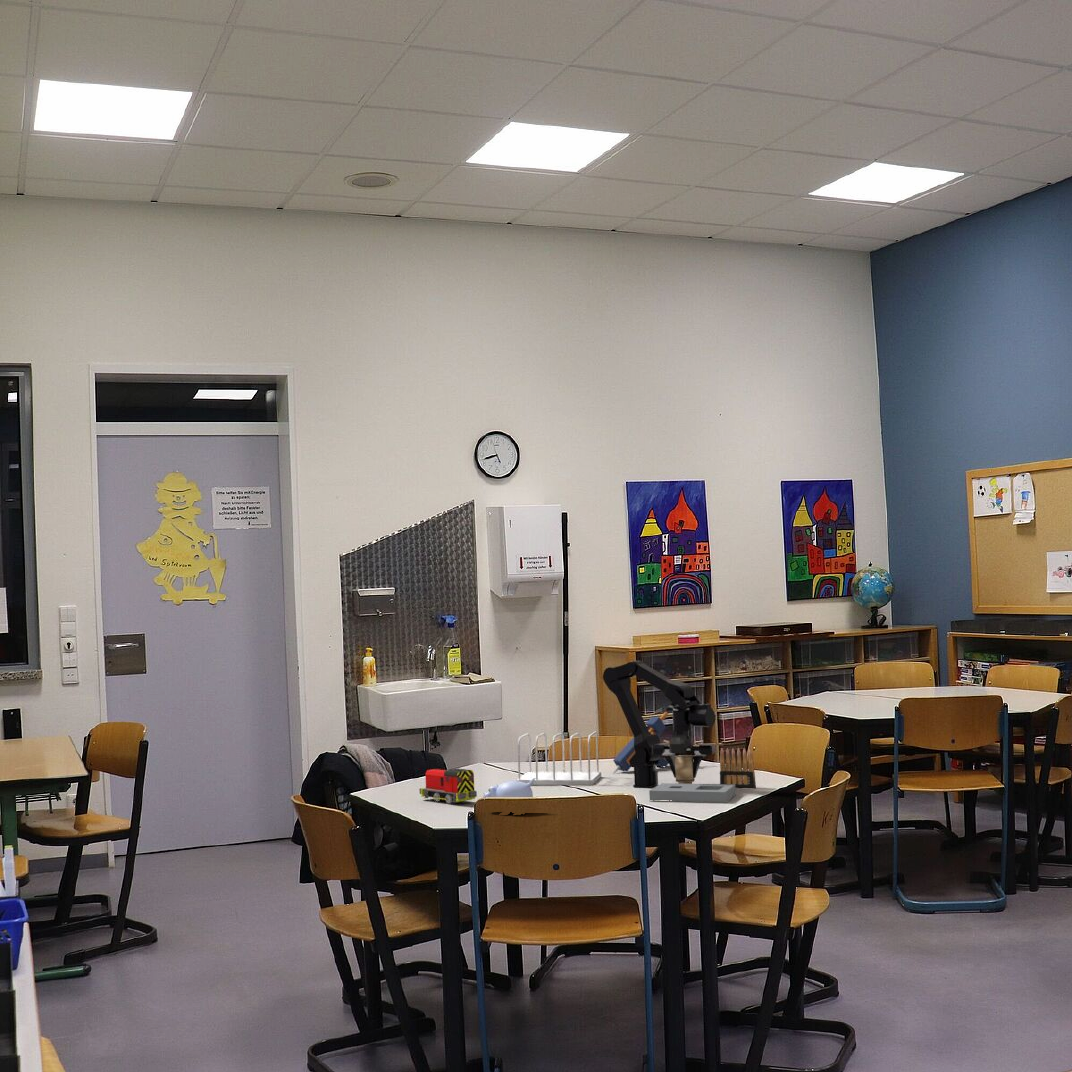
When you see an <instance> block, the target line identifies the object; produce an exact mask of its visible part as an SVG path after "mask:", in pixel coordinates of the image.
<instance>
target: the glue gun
mask: <svg viewBox="0 0 1072 1072" xmlns="http://www.w3.org/2000/svg"><path fill="white" fill-rule="evenodd" d="M668 715H669V713H668V711H664V712H663V714H662V715H661V716H660V717H656V716H651V717H650V719H648V720H647V721H646V722H645V724H646V726H647V729H648V731H649V732H650V733H651V734H652V735H654V734H657V735H658V737H659V738H660V736H661V734H662V733H663V731H664V730H665V729H666V728H667V727H666V725H665V724H664V722H663V721H664V720H665V719H666V718H667V716H668ZM634 754H635V750H634V736H633V737H632V738H631V739H630V740H629V742H628V743H627V744H626V745H624V747H623V748H622V749H621V751H620V752H619V753H618V754H617V755H616V756H615V757H614V759H613V762H614V764H615V766H616V768H615V769H614V771H613V772H612V774H613V775H614V774H616V772H618V771H621V772H628V771H629V770H630V768H632V767H631V766H630V763H629V760H630V759H631V758H632V756H633V755H634ZM668 765H669V763H668V761H667V760H666V759H665V758H664V757H662V756H661V758H660V760H659V764H658V765H656V766H666V767H667V766H668Z"/></svg>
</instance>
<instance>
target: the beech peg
mask: <svg viewBox="0 0 1072 1072" xmlns="http://www.w3.org/2000/svg"><path fill="white" fill-rule="evenodd" d="M693 756H694V755H691V754H689V755H688V754H682V755H681V754H679V755H675V774H676V778H675V783H680V784H693V782H695V778H694V777H693V764H694V760H693Z"/></svg>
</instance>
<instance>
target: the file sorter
mask: <svg viewBox="0 0 1072 1072" xmlns="http://www.w3.org/2000/svg"><path fill="white" fill-rule="evenodd" d="M594 735H595V745H596V746H595V748H596V753H595V754H596V755H595V757H596V771H591V754H590V753H591V747H590V745H591V737H593V736H594ZM527 736H528V755H529V756H528V758H529V759H528V760H529V761H528V763H529V764H528V766H529V771H527V772H526V773H524V774H523V775H521V755H520V754H521V751H520V750H521V745H520V744H521V740H522V739H523V738H525V737H527ZM542 736H544V751H545V752H544V753H545V771H538V769H539V768H538V767H539V766H538V763H539V762H538V740H539V738H540V737H542ZM559 736H561V738H562V739H561V740H562V743H561V744H562V771H556V764H555V763H556V759H555V758H556V757H555V756H556V755H555V754H556V753H555V751H556V750H555V739H556V738H557V737H559ZM576 736H578V744H579V745H578V747H579V753H578V754H579V771H573V751H572V750H573V746H572V745H573V744H572V741H573V738H574V737H576ZM581 739H582V736H581V733H580V732H576V733H573V734H572V735H571V736H570V737H569V762H570V771H565V769H566V765H565V763H566V762H565V734H564V732H558V733H556V734H554V735H553V736H552V771H549V765H548V741H547V734H546V732H542V733H540V734H538V735H536V737H535V745H534V746H535V771H532V745H531V742H532V741H531V740H532V739H531V734H530V733H529V732H527V733H524V734H522V735H520V736H519V737H518V740H517V766H518V767H517V770H518V772H517V773H518V778H517V779H516V780H515V781H519V782H524V783H529V782H530V781H531V780H532V779H533V778H536V779H535V780H534V782H533V784H532V786H593V785H594V784H595V783H596V782H597V781H598V780H599V779H600V778H602V771H599V738H598V731H596V730H595V731H593V732H592V733H591V734H588V737H587V764H588V765H587V769H588V771H582V770H583V769H582V765H583V764H582V740H581Z"/></svg>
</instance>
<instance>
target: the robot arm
mask: <svg viewBox="0 0 1072 1072" xmlns="http://www.w3.org/2000/svg"><path fill="white" fill-rule="evenodd" d="M635 676H636V677H638V678H639V679H640V680H643V681H644V682H646V683H648V684H649V685H651V686H652V687H654V688H656V689H658V690H659V691H661V693H662V694H663V695H664V698H666V699H667V700H669V702H670V703H669V706H668V707H666V709H665V710H666V712H671V713H672V735H671V736H672V737H671V738H670V739H669V742H668V743H667V742H665V743H664V742H661V741H660V736H659V737H658V735H657V734H654V735H652V734H651V733H650V732H649V728H648V726H647V724H646V722H645V720H644V718H643V715H642V714H641V711H640V709H639V706H638V704H637V702H636V700H635V697H634V694H633V693H632V691H631V687H632V685H631V684H632V680H631V679H632V678H634V677H635ZM602 680H603V682H604V684H605V686H606V687H607V689H608V690H609V691H610V692H611V693H613V694H614V695H615V697H616V699H617V700H618V703H619V707H620V708H621V710H622V712H623V715H624V716H625V720H626V722H627V723H628V725H629V728H630V729H629V730H630V731H631V733H632V735H633V737H634V750H635V754H634V755H633V756H632V758H631V759H630V760H629V763H630V766H631V767H630V768H633V776H634V777H633V779H634V784H633V785H632V787H633V788H655V787H656V786H658V785H659V774H658V773H659V771H658V770H657V767H656V765H658V764H659V760H660V758H661V756H662V757H664V758H665V759H666V760H667V761H668V763H669V764H668V765H669V767H670V770H671V772H672V775H673V777H674V778H675V779H676V774H675V756H676V754H678V753H679V754H685V753H694V755H692V756H693V762H694V764H693V777H694V779H695V778H696V777H697V775H698V771H699V768H700V764H701V762H702V760H703V758H705V757H706V756H710V755H711V756H712V755H714V754H716V753H717V749H716V748H717V747H716V744H714V743H707V742H706V743H700V744H699V745H694V738H693V727H698V728H700V727H703V728H713V726H714V725H715V722H716V713H715V711H714V709H713V708H712V704H711V703H705V704H704V703H703V704H702V703H701V701H700V700H699V699H698V697H697V695H696V694H695V693H694V689H693V687H692V686H691V685H690V684H689V683H685V682H684V681H683V682H682V681H680V680H674V679H671V678H669V677H668V676H666V675H664V674H662V673H661V672H659V671H657V670H655V669H654V668H652V667H650V666H649V665H647V664H645V663H644V661H642V660H631V661H628V662H627V663H625V664H622V665H619V666H610V667H607V668H605V669H604V671H603V673H602ZM657 784H658V785H657Z"/></svg>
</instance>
